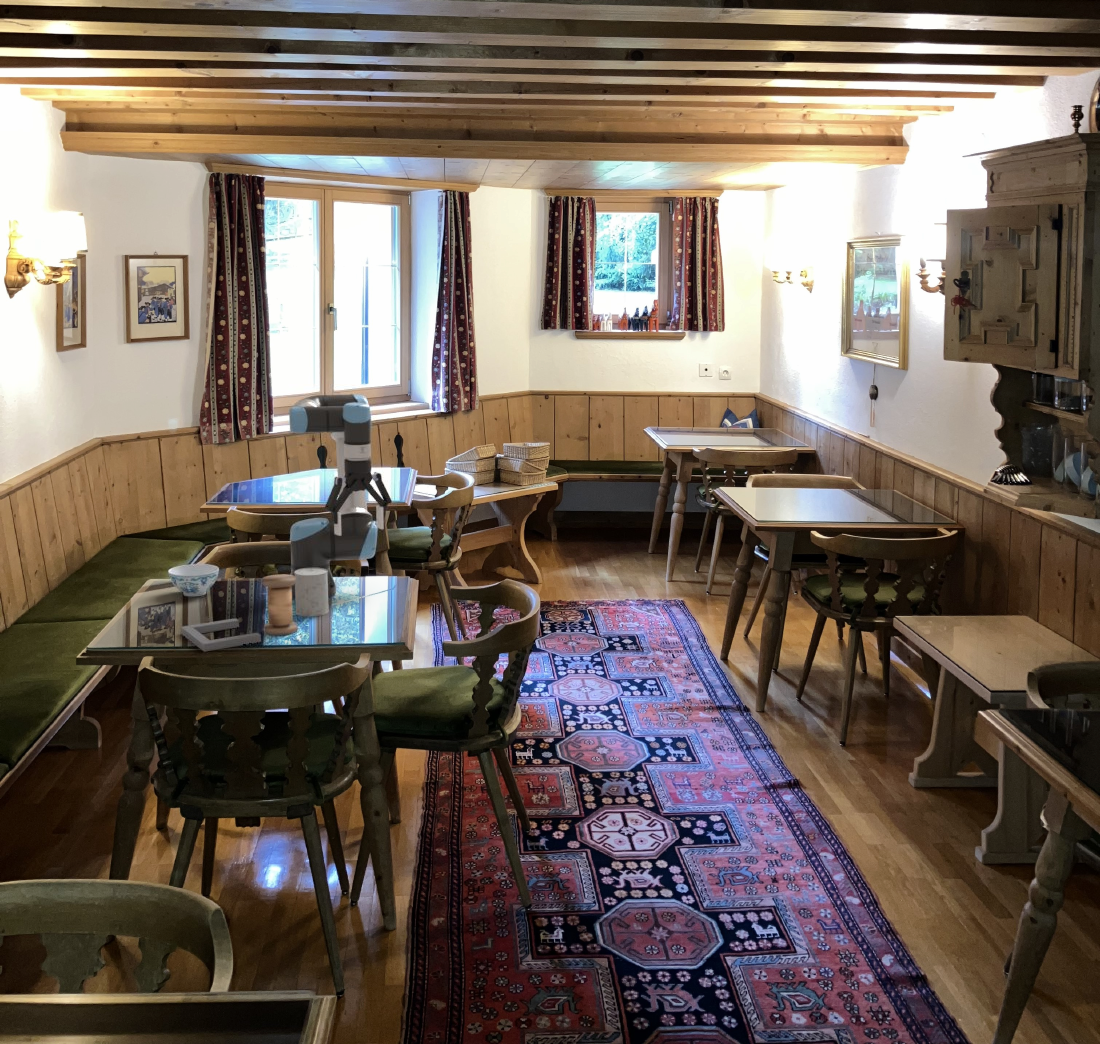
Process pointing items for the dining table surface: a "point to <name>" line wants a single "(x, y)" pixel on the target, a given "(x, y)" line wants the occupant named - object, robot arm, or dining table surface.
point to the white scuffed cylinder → (311, 591)
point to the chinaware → (193, 578)
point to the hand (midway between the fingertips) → (359, 531)
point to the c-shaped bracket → (207, 645)
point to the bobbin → (279, 604)
